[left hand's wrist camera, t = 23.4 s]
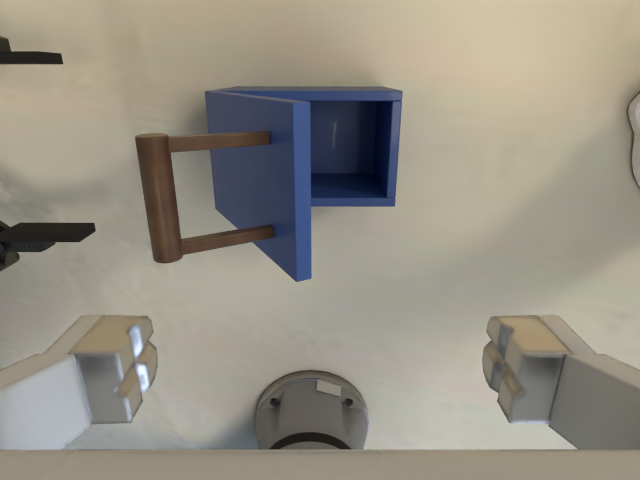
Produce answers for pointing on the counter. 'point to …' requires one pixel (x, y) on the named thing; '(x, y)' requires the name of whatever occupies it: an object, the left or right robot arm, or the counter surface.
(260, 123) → the lid
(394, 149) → the chest
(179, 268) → the counter surface
